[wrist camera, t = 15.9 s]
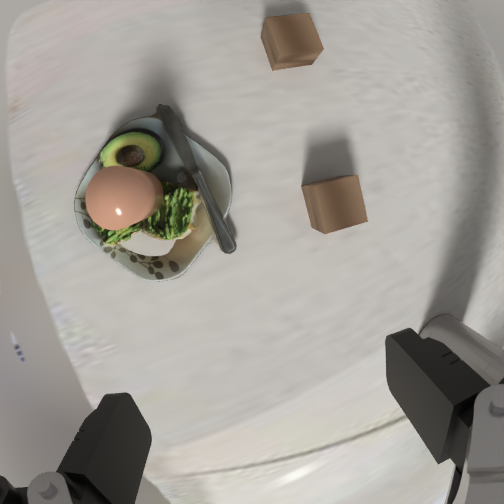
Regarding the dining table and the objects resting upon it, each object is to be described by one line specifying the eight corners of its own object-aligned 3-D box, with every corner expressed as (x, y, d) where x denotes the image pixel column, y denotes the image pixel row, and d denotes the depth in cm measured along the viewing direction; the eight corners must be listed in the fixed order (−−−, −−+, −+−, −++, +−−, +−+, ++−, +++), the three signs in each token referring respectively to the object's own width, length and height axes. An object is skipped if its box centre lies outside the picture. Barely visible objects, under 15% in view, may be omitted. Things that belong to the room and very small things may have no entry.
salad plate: (278, 193, 35) (286, 194, 30) (184, 310, 37) (180, 326, 32) (149, 94, 31) (139, 82, 27) (65, 214, 33) (46, 218, 29)
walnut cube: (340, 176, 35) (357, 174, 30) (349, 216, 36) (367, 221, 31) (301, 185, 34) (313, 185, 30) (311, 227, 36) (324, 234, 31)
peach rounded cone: (169, 176, 29) (150, 172, 22) (156, 224, 30) (135, 237, 23) (124, 166, 29) (93, 160, 21) (112, 213, 30) (80, 221, 22)
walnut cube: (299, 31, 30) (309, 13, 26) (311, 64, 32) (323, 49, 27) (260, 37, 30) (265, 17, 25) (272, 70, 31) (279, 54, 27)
